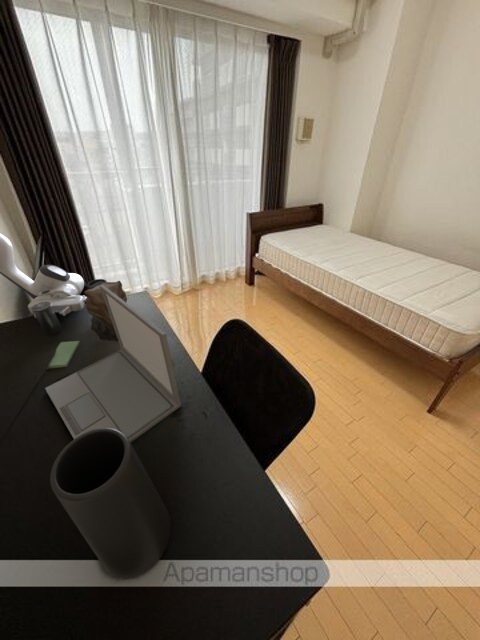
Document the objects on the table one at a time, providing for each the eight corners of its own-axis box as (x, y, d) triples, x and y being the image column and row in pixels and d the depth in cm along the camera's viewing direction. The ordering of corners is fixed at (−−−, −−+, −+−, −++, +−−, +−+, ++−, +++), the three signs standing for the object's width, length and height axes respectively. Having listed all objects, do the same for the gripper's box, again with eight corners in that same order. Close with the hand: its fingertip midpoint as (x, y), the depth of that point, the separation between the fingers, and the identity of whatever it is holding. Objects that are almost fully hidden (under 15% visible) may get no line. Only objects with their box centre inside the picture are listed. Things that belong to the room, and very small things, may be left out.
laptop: (46, 391, 88) (2, 319, 72) (125, 350, 103) (103, 284, 87) (92, 470, 68) (45, 396, 52) (182, 405, 83) (166, 332, 67)
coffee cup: (92, 318, 120) (80, 287, 111) (104, 307, 126) (94, 277, 118) (110, 320, 118) (99, 289, 109) (121, 310, 125) (112, 279, 116)
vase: (183, 514, 60) (159, 436, 43) (141, 595, 50) (88, 534, 33) (133, 487, 65) (93, 407, 48) (84, 556, 54) (12, 486, 38)
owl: (94, 340, 108) (76, 295, 96) (110, 321, 118) (95, 277, 106) (126, 342, 107) (111, 296, 95) (139, 322, 117) (127, 279, 105)
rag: (45, 368, 96) (44, 366, 95) (61, 343, 106) (60, 342, 106) (66, 367, 96) (65, 365, 96) (80, 342, 107) (79, 340, 106)
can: (41, 336, 110) (27, 311, 103) (49, 327, 115) (36, 302, 108) (59, 335, 110) (46, 310, 103) (65, 325, 116) (53, 300, 109)
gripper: (90, 302, 124) (79, 320, 113) (42, 305, 123) (25, 324, 111) (86, 289, 120) (74, 307, 109) (35, 292, 119) (18, 310, 108)
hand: (49, 315), depth 110 cm, fingers open, 8 cm apart
